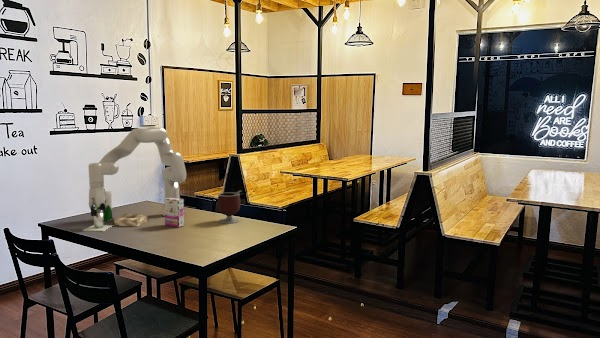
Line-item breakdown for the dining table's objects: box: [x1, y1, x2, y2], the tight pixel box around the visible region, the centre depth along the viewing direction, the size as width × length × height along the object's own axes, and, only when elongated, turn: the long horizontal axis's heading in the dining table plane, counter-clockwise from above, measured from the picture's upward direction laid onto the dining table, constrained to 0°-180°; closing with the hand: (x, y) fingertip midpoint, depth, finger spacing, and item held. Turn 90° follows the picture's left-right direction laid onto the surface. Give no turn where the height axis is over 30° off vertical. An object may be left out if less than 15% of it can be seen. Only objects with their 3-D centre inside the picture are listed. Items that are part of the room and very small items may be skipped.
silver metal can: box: [93, 210, 105, 229], centre depth 259 cm, size 5×5×10 cm
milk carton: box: [96, 188, 114, 222], centre depth 279 cm, size 9×9×20 cm
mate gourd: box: [217, 190, 242, 225], centre depth 278 cm, size 16×14×20 cm
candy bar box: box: [163, 197, 185, 228], centre depth 266 cm, size 11×5×16 cm, turn 62°
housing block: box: [113, 213, 148, 227], centre depth 272 cm, size 14×14×4 cm
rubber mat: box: [82, 224, 115, 232], centre depth 259 cm, size 12×12×1 cm
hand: (98, 214), depth 259 cm, fingers open, 9 cm apart
